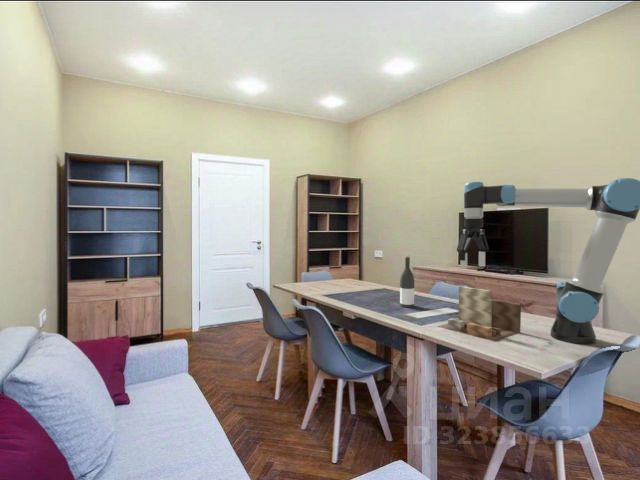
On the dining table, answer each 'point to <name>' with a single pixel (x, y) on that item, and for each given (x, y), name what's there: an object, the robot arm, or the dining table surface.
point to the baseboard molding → (432, 313)
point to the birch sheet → (475, 306)
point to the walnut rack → (500, 320)
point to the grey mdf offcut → (456, 324)
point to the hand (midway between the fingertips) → (473, 267)
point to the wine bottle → (407, 286)
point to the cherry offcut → (479, 330)
